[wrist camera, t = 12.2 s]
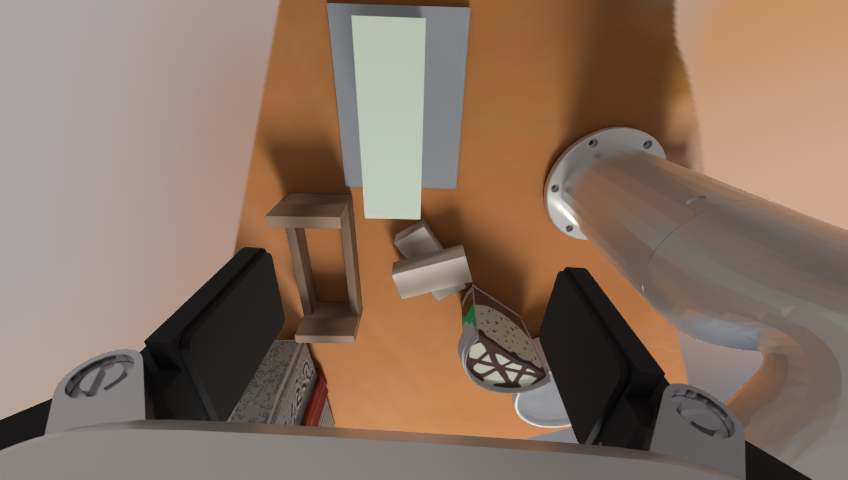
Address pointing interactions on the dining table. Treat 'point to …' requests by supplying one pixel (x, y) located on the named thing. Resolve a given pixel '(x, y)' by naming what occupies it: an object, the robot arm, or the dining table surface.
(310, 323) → the rack
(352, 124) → the mat
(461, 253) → the upper offcut
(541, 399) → the ramekin
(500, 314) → the food container
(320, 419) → the decorative stone tablet
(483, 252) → the dining table surface
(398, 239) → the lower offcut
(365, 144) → the sheet
